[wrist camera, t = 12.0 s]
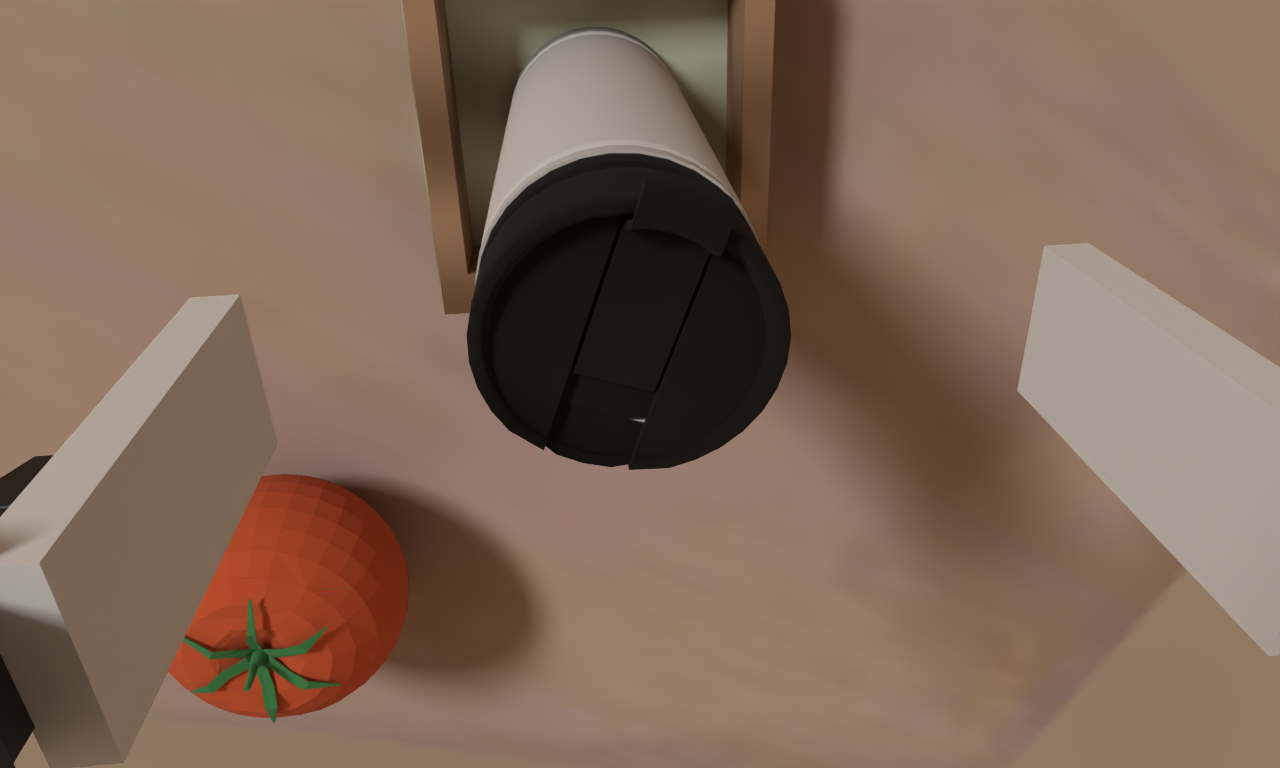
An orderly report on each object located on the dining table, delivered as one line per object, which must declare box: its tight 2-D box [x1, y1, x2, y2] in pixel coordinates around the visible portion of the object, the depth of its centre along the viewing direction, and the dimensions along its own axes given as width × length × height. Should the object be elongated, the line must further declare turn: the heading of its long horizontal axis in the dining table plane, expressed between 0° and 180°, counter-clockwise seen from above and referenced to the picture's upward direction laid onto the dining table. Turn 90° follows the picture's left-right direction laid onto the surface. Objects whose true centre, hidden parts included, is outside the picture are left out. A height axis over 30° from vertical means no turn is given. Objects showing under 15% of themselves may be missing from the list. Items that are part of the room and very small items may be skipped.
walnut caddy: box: [401, 0, 775, 314], centre depth 34 cm, size 13×13×4 cm
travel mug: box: [467, 27, 791, 470], centre depth 26 cm, size 6×7×20 cm
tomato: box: [168, 474, 409, 723], centre depth 38 cm, size 10×10×10 cm
